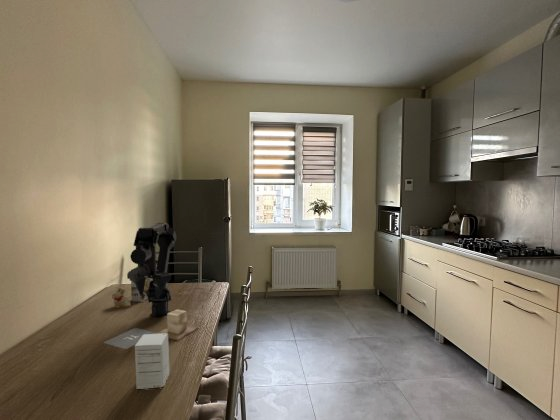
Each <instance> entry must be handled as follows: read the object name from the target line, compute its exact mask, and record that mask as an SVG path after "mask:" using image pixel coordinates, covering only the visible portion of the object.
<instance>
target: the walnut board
mask: <svg viewBox="0 0 560 420" xmlns="http://www.w3.org/2000/svg"><path fill="white" fill-rule="evenodd" d="M197 330H199V327H198V326H193V325H190V324H187V329H186V330H184V331H182V332H180V333H179V334H176V333H171V332H168V327H166V328H164V329H162V330H160V331H158V332H155V333H156V334H161V333H168V340H173V341H180V340H183V338H186V337H188V336H189V335H191V334H192V333H195V332H196V331H197ZM185 336H186V337H185Z"/></svg>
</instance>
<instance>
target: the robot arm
mask: <svg viewBox="0 0 560 420" xmlns="http://www.w3.org/2000/svg"><path fill="white" fill-rule="evenodd" d="M176 241H177V233H176V231H175V229H174V228H172V227H171V226H170V225H169V223H168V222H157V223H155V224H154V225H151V226H150V227H139V228H138V229H137V230H136V233H135V238H134V242H133V246H134V247H135V249H133V250H132V251H131V254H130V257H129V258H130V260H131V262H132V263H134V264H136V265H137V266H136V267H134V268H133V270H132V269H130V270H129V271H128V272H127V274H126V275H127V276H126V277H127V279H129V281H130V282H131V281H132V282H134V283H135V285H136V287H137V289H138V291H139V294H140V296H142V295H143V292H144V286H145V280H146V278H151V279H152V281H150V285H149V289H148V291H147V296H148V299H147V300H148V301H147V302H148V303H151V313H150V314H149V316H151V317H155V318H162V317H165V316H166V315H167V314H168V313H170V312H172V311H169V302H170V301H172V293H171V290H170V288H169V284H168V283H169V282H170V281H171V280H172V275H171V273H170V272H167V271H168V265H169V260H170V254H171V253H170V252H171V250H172V249H173V247H174V246H175V244H176V243H175V242H176ZM157 245H158V247H159V251H158V257H157V253H156V252H157V251H156V249H157V247H156V246H157Z"/></svg>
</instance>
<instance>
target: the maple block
mask: <svg viewBox="0 0 560 420" xmlns="http://www.w3.org/2000/svg"><path fill="white" fill-rule="evenodd" d="M187 314H188V313H187V311H186V310H182V309H175V310H173V311H171V312H170V313H168V314H167V316H166V317H167V318H166V319H167V328H168V332H171V333H176V334H179V333H180V332H182V331H184V330H186V329H187V325H188V323H187V320H188V318H187Z"/></svg>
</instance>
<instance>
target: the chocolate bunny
mask: <svg viewBox="0 0 560 420" xmlns="http://www.w3.org/2000/svg"><path fill="white" fill-rule="evenodd" d="M125 291H126V289H125V288H124V287H123V286H119V288H117V289H116V291H115V292H113V293H112V296H111V297H112V299H113V304H114V308H117V309H125V308H130V307H132V304H131V301H130V300H129V298H127V297H125V296H124V294H125Z"/></svg>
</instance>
